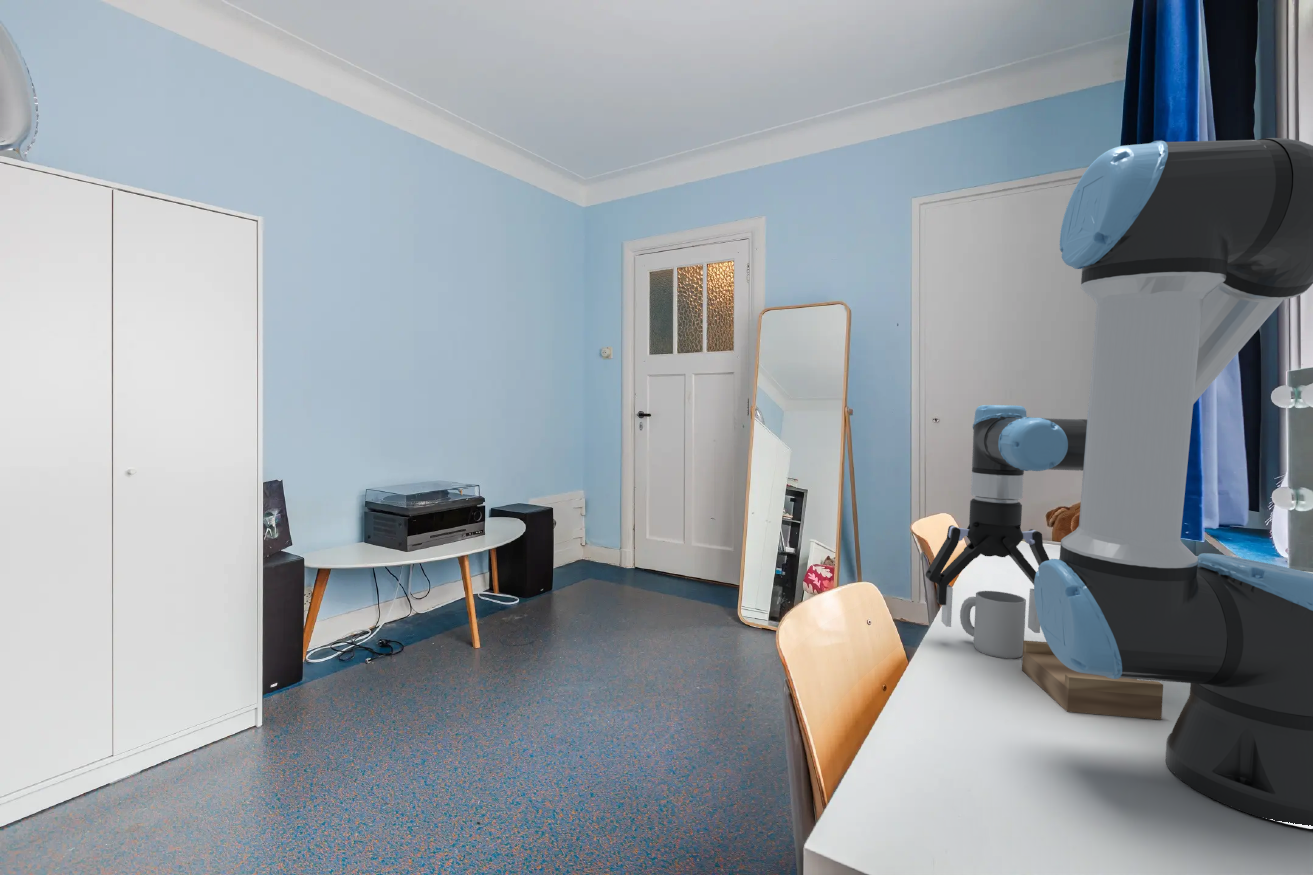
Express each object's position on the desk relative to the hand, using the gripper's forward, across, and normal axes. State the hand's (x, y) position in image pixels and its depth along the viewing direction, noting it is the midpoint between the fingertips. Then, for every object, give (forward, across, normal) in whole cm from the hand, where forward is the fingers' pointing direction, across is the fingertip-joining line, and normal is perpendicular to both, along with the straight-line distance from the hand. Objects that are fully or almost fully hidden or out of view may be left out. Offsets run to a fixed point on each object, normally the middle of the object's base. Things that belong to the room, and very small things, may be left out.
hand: (989, 627), depth 106 cm
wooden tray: (+3, -7, +16) cm, 18 cm away
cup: (+4, 0, 0) cm, 4 cm away
